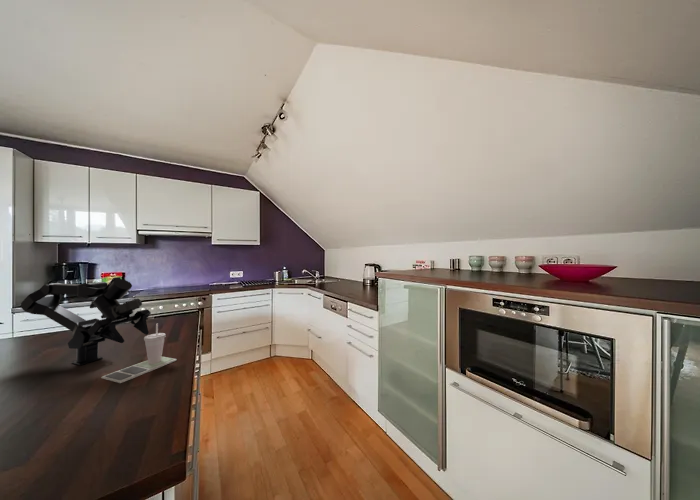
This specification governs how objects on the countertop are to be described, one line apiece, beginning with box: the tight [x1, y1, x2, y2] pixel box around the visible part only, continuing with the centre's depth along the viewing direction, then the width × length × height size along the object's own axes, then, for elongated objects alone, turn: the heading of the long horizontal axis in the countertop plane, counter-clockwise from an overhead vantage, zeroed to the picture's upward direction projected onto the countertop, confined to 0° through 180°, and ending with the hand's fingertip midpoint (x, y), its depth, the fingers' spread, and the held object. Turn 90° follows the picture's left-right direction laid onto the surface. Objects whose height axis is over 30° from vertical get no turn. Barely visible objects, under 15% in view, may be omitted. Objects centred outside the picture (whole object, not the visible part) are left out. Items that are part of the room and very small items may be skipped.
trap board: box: [100, 356, 177, 384], centre depth 86 cm, size 10×18×1 cm, turn 161°
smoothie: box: [143, 323, 167, 364], centre depth 90 cm, size 6×6×14 cm
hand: (136, 337), depth 91 cm, fingers open, 9 cm apart
